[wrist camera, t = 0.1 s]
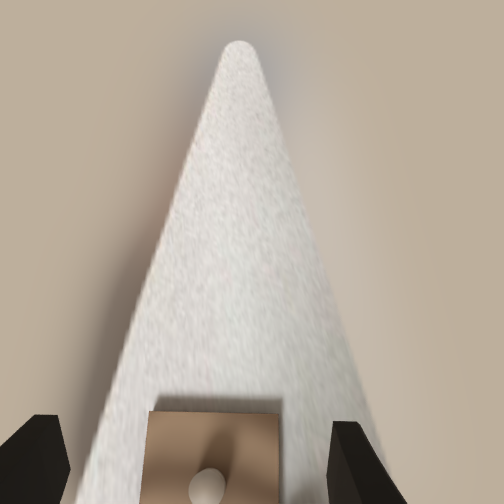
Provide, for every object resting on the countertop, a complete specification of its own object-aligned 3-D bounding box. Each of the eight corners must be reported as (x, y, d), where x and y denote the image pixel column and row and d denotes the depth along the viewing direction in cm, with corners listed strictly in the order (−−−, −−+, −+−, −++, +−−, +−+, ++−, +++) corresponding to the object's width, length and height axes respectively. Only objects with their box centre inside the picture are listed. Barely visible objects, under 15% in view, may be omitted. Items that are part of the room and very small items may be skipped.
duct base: (278, 565, 37) (281, 583, 32) (136, 562, 37) (120, 579, 32) (277, 414, 42) (280, 411, 37) (152, 412, 42) (140, 408, 37)
